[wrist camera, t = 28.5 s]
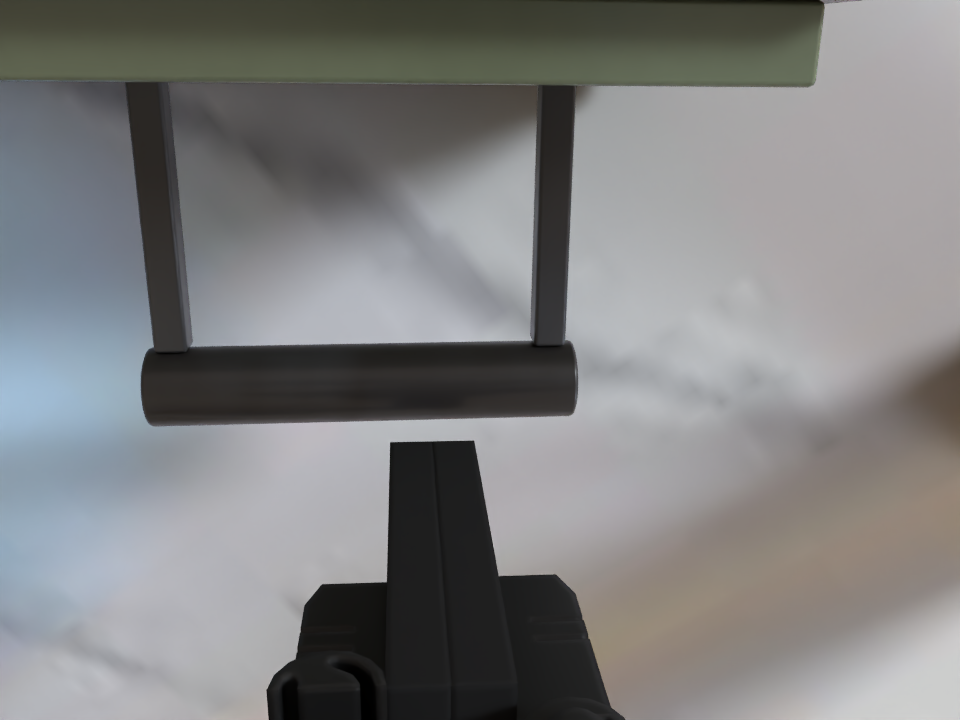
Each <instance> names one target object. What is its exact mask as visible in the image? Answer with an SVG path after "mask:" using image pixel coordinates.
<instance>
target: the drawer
mask: <svg viewBox="0 0 960 720" xmlns="http://www.w3.org/2000/svg"><path fill="white" fill-rule="evenodd" d="M824 8H825V7H824V2H822V1H820V0H0V81H62V82H125V87H126V96H127V105H128V114H129V124H130V133H131V142H132V151H133V160H134V169H135V179H136V188H137V197H138V206H139V215H140V224H141V234H142V243H143V252H144V261H145V270H146V279H147V289H148V298H149V307H150V316H151V325H152V335H153V344H154V347H153V348H151V349H149V350H148V351H147V352H146V355H145V357H144V361H143V365H142V371H141V400H142V406H143V411H144V414H145V417H146V420H147V422H148V423H149V424H150V425H152V426H190V425H229V424H269V423H309V422H348V421H388V420H428V419H467V418H507V417H546V416H570V415H572V414H573V413H574V410H575V407H576V403H577V395H578V368H577V359H576V354H575V350H574V347H573V344H572V343H571V342H570V341H568V340H565V331H566V307H567V284H568V261H569V238H570V215H571V191H572V168H573V145H574V122H575V99H576V86H697V87H810V86H812V85H814V83H815V80H816V72H817V64H818V56H819V48H820V40H821V32H822V24H823V16H824ZM168 82H189V83H316V84H443V85H538V99H537V132H536V165H535V198H534V231H533V264H532V297H531V330H530V336H531V338H532V340H533V341H492V342H436V343H379V344H322V345H265V346H209V347H190V346H191V344H192V342H193V339H192V328H191V318H190V307H189V296H188V286H187V275H186V265H185V254H184V243H183V233H182V222H181V212H180V201H179V190H178V180H177V169H176V159H175V148H174V138H173V127H172V116H171V106H170V95H169V85H168Z"/></svg>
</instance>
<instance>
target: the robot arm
mask: <svg viewBox="0 0 960 720" xmlns="http://www.w3.org/2000/svg"><path fill="white" fill-rule="evenodd" d="M267 702H268V715H269V720H625V718H624V717H623V716H621V715H620V714H619V713H617V712H616V711H615V710H613V709H612V708H611V706H610V703H609V700H608V697H607V694H606V690H605V687H604V684H603V681H602V678H601V674H600V671H599V668H598V665H597V662H596V658H595V655H594V652H593V649H592V646H591V642H590V639H588V633H587V629H586V626H585V623H584V620H582V613H581V610H580V607H579V604H578V601H577V597H576V594H575V593H574V592H573V591H572V590H571V589H570V588H569V587H568V586H567V585H566V584H565V583H564V582H563V581H562V580H561V579H560V578H559V577H558V576H557V575H525V576H498V570H497V565H496V559H495V554H494V548H493V543H492V537H491V532H490V526H489V521H488V515H487V510H486V504H485V499H484V493H483V488H482V482H481V476H480V471H479V465H478V460H477V454H476V449H475V443H474V441H436V442H390V479H389V522H388V564H387V582H382V583H351V584H322V585H321V586H320V588H319V589H318V590H317V591H316V592H315V594H314V595H313V596H312V597H311V598H310V599H309V601H308V602H307V603H306V604H305V606H304V612H303V618H302V624H301V633H300V636H299V642H298V652H297V654H296V660H294V661H291V662H289V663H288V664H287V665H285V666H284V667H283V668H282V669H281V670H280V671H278V672H277V673H276V674H275V675H274V676H273V678H272V680H271V682H270V684H269V687H268V689H267Z"/></svg>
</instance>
